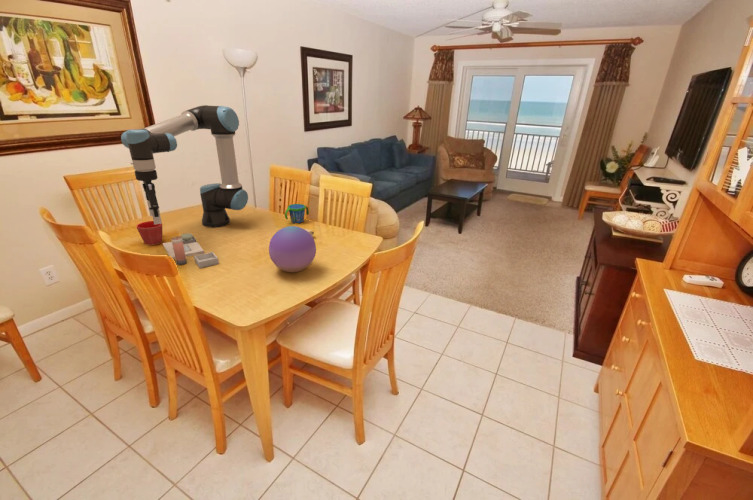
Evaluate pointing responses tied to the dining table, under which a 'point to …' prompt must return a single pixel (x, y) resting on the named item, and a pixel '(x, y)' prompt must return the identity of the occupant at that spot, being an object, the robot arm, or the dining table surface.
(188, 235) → the button
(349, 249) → the dining table surface
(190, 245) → the board
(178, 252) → the tumbler
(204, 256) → the tray
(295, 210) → the snack cup
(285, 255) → the ball
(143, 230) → the flower pot
